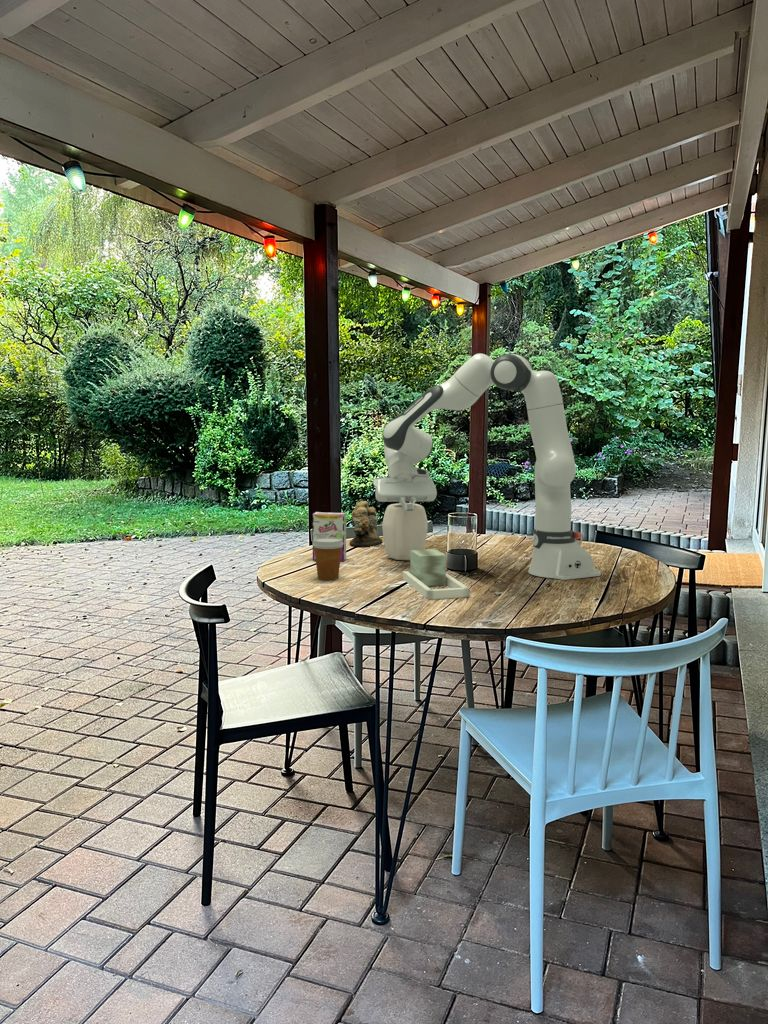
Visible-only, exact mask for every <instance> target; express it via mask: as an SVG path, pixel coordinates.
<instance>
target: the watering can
mask: <svg viewBox="0 0 768 1024" xmlns="http://www.w3.org/2000/svg"><path fill="white" fill-rule="evenodd" d="M406 503H407V502H406ZM407 504H412V503H410V502H408V503H407ZM428 526H429V524H428V517H427V513H426V509H425V507H424V506H423V505H421V504H418V503H415V504H414V511H405V510H404V507H403V506H402V505H401V504H400V502H398V503H391V504H389V505H387V507H386V508H385V511H384V515H383V520H382V527H381V528H382V536H383V542H384V543H383V544H384V548H385V551H386V556H387V558H389V559H392V560H396V561H410V550H424V549H425V547H426V542H427V538H428V537H427V535H428Z"/></svg>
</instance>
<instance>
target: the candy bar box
mask: <svg viewBox="0 0 768 1024" xmlns="http://www.w3.org/2000/svg"><path fill="white" fill-rule="evenodd" d="M322 537H335V538H340V539H342V542H343V543H344V544H343V546H342V551H341V559H340V562H345V561H346V559H347V513H346V512H321V511H315V512H313V513H312V543H313V542H314V539H316V538H322ZM314 560H316V559H315V552H314V547H313V546H312V561H314Z"/></svg>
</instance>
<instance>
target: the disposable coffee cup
mask: <svg viewBox="0 0 768 1024" xmlns="http://www.w3.org/2000/svg"><path fill="white" fill-rule="evenodd" d="M343 544H344V543H343V542H342V539H340V538H335V537H322V538H316V539H314V542H313V541H312V548H313V547H314V552H315V559H316V561H315V565H316V566H315V567H316V572H317V579H318V578H319V579H318V580H321V579H322V580H321V581H323V580H324V581H332V580H331V579H334V580H338V579H339V576H340V567H341V561H340V559H341V551H342V546H343Z"/></svg>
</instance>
